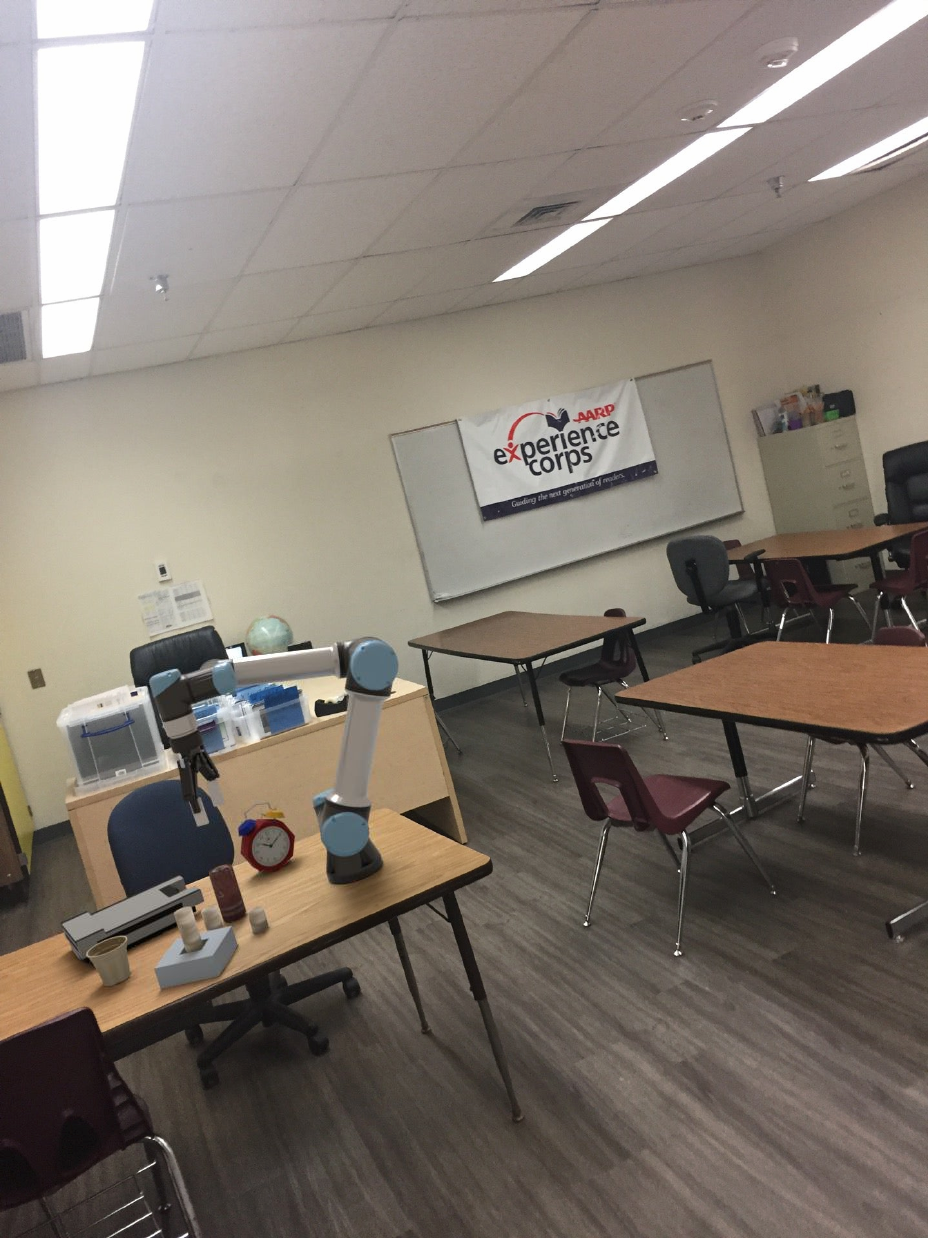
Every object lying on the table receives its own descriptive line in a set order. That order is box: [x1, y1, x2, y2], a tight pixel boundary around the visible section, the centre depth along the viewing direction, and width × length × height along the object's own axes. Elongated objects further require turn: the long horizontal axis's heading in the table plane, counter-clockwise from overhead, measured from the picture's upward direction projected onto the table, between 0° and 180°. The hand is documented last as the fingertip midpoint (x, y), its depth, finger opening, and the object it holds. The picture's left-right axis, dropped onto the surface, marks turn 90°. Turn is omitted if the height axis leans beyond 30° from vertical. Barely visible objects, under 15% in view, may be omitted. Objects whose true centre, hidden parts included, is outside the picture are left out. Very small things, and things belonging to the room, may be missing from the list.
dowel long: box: [174, 906, 204, 953], centre depth 213 cm, size 4×4×14 cm
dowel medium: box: [200, 904, 225, 932], centre depth 226 cm, size 4×4×8 cm
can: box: [208, 862, 247, 924], centre depth 236 cm, size 6×6×14 cm
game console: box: [60, 874, 205, 965], centre depth 245 cm, size 21×32×8 cm, turn 125°
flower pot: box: [86, 936, 132, 987], centre depth 218 cm, size 9×9×9 cm
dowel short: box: [246, 905, 270, 934], centre depth 225 cm, size 4×4×5 cm
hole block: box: [154, 925, 239, 990], centre depth 213 cm, size 14×14×5 cm
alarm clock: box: [237, 801, 296, 877], centre depth 265 cm, size 15×9×20 cm, turn 123°
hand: (211, 814), depth 225 cm, fingers open, 13 cm apart
